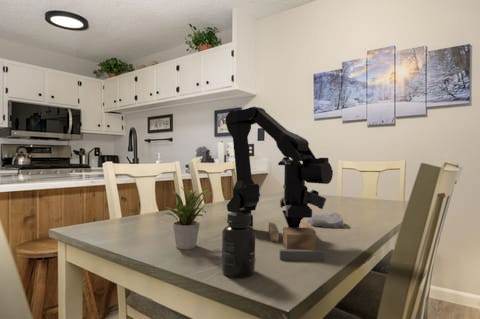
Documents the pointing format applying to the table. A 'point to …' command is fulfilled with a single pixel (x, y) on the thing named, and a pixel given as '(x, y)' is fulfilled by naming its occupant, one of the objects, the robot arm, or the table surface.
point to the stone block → (326, 220)
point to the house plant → (187, 220)
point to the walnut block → (298, 238)
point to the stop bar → (301, 254)
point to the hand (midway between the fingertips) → (294, 237)
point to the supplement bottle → (238, 246)
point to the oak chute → (275, 233)
